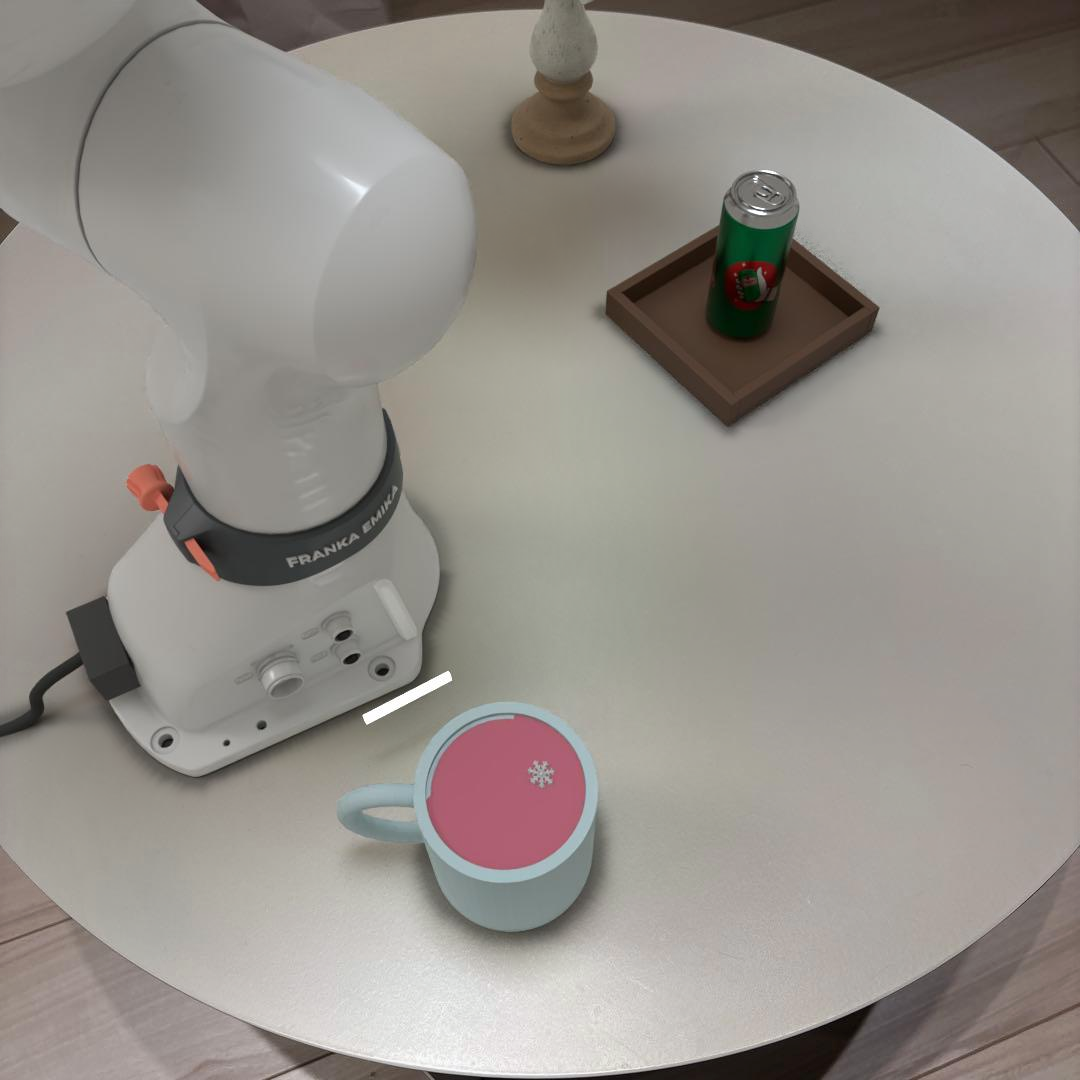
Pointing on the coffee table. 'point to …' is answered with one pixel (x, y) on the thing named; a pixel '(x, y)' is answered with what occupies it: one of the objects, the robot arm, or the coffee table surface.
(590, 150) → the candle holder
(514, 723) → the mug
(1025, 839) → the coffee table surface
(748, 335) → the soda can
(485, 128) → the coffee table surface
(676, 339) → the tray
